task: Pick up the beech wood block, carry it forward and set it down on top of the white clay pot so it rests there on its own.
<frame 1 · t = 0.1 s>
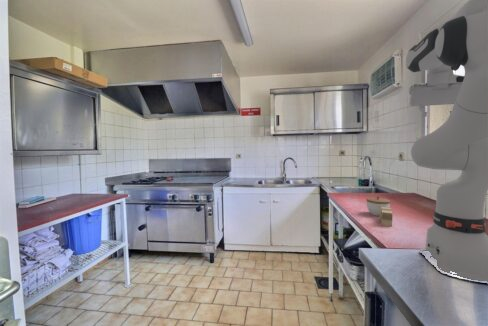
hand: (438, 115, 101), 48 cm above the countertop, tool pointing down, fingers open, 8 cm apart
lidded jar: (377, 214, 127), on the countertop
beech block: (385, 222, 114), on the countertop
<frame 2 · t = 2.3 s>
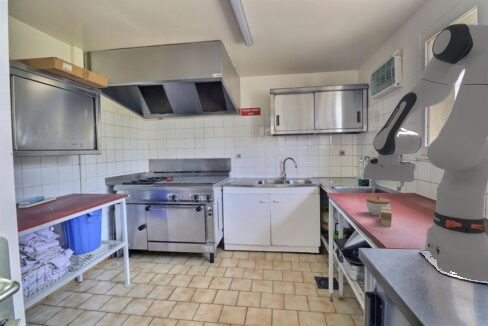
hand: (386, 190, 113), 15 cm above the countertop, tool pointing down, fingers open, 8 cm apart
nothing on the countertop moved.
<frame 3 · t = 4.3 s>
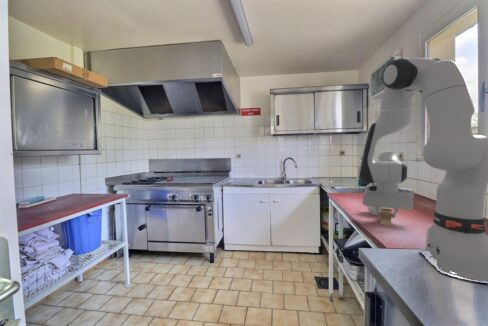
hand: (386, 216, 114), 2 cm above the countertop, tool pointing down, fingers closed on beech block, 4 cm apart
beech block: (385, 221, 114), on the countertop, touching gripper
everything else where it was.
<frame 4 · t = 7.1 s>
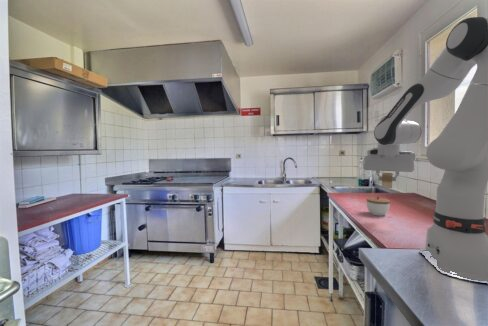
hand: (387, 180, 113), 19 cm above the countertop, tool pointing down, fingers closed on beech block, 4 cm apart
beech block: (386, 185, 114), point 17 cm above the countertop, touching gripper
everything else where it was.
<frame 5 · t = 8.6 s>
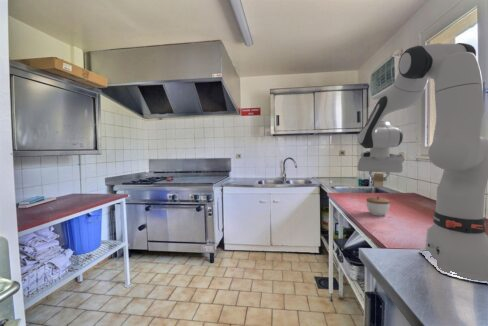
hand: (378, 180, 126), 18 cm above the countertop, tool pointing down, fingers closed on beech block, 4 cm apart
beech block: (378, 185, 126), point 15 cm above the countertop, touching gripper
everything else where it was.
when the fingers open (13 cm above the countertop, at t = 9.9 s): beech block stays where it is, resting on lidded jar.
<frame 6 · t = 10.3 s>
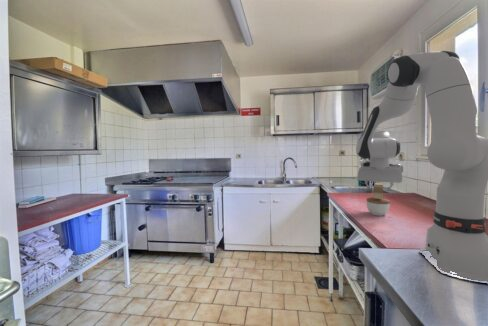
hand: (378, 190, 126), 13 cm above the countertop, tool pointing down, fingers open, 8 cm apart
lidded jar: (377, 214, 127), on the countertop, touching beech block
beech block: (378, 196, 126), point 9 cm above the countertop, touching lidded jar
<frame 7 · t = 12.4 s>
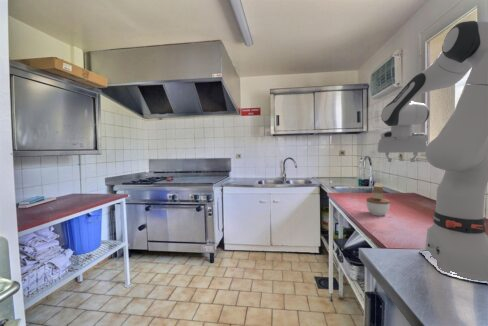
hand: (400, 162, 119), 28 cm above the countertop, tool pointing down, fingers open, 8 cm apart
nothing on the countertop moved.
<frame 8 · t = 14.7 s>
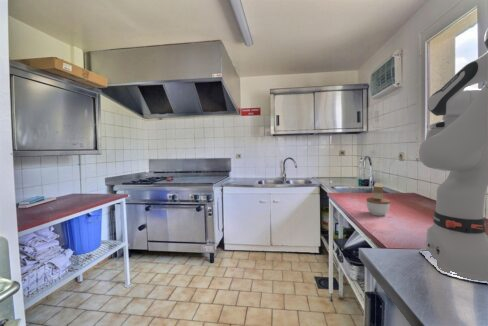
hand: (453, 155, 107), 31 cm above the countertop, tool pointing down, fingers open, 8 cm apart
nothing on the countertop moved.
at the end: beech block inside the target area on the lidded jar (0.0 cm from its centre), point 9.6 cm above the lidded jar's base; beech block touching lidded jar; the gripper is holding nothing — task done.
